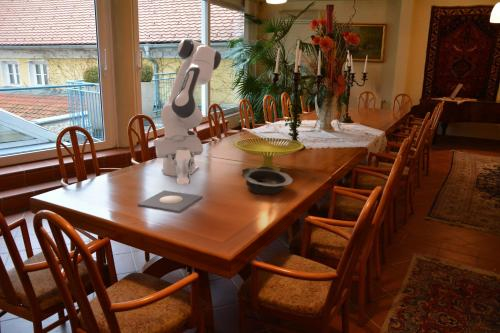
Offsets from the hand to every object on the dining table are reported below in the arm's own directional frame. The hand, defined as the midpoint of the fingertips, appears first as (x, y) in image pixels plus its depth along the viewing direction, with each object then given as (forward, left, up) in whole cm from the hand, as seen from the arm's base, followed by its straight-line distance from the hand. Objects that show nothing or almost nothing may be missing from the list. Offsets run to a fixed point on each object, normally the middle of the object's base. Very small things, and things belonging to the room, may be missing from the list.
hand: (183, 164), depth 168 cm
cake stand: (-67, +16, -18) cm, 71 cm away
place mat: (+1, -6, -17) cm, 18 cm away
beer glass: (0, 0, -9) cm, 9 cm away
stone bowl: (-32, +27, -18) cm, 45 cm away
